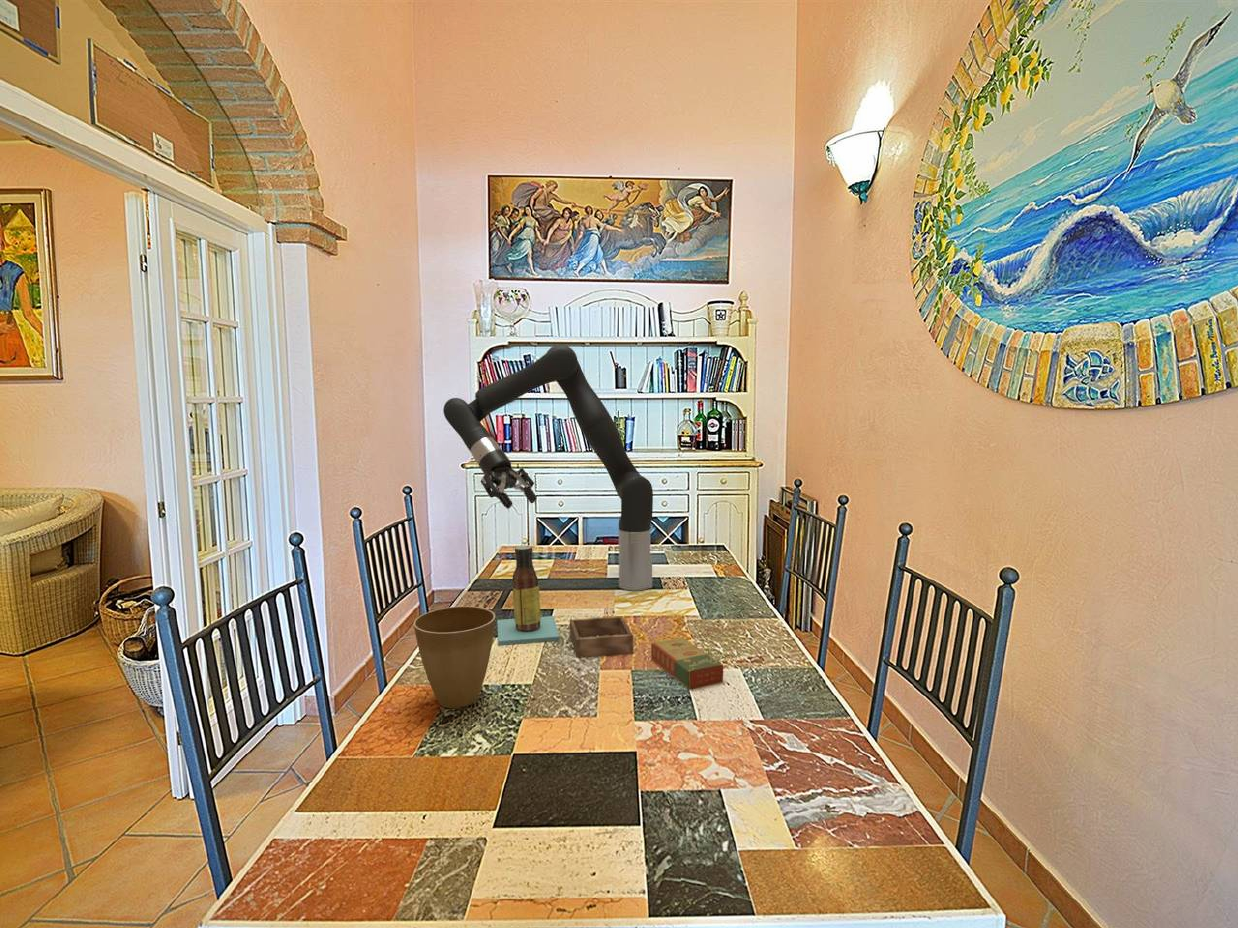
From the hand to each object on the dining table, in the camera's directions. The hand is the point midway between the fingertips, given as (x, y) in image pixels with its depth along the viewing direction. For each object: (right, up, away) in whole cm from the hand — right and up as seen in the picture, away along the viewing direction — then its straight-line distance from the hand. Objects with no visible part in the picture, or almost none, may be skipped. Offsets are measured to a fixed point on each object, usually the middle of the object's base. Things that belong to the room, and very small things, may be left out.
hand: (522, 503), depth 174 cm
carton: (+39, -33, -34) cm, 62 cm away
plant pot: (-6, -35, -47) cm, 58 cm away
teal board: (+3, -30, -13) cm, 33 cm away
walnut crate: (+21, -31, -20) cm, 43 cm away
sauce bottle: (+3, -29, -13) cm, 32 cm away
